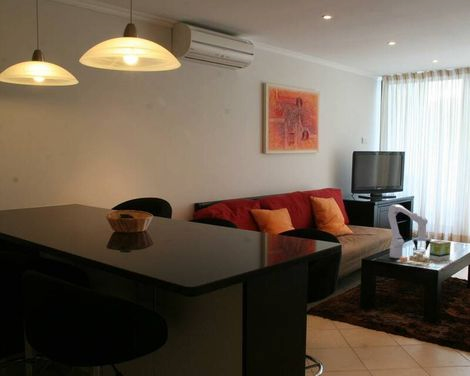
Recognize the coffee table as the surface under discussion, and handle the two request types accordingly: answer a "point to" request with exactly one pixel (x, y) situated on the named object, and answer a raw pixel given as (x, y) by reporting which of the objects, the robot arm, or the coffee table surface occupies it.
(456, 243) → the coffee table surface
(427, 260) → the short block right
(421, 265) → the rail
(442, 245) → the tea box
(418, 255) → the tall block middle
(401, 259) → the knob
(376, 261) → the coffee table surface
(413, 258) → the short block left
